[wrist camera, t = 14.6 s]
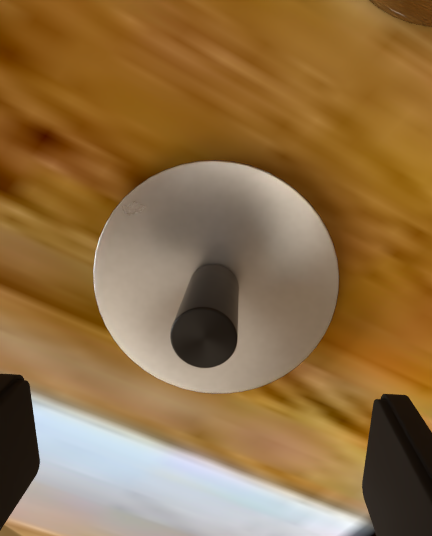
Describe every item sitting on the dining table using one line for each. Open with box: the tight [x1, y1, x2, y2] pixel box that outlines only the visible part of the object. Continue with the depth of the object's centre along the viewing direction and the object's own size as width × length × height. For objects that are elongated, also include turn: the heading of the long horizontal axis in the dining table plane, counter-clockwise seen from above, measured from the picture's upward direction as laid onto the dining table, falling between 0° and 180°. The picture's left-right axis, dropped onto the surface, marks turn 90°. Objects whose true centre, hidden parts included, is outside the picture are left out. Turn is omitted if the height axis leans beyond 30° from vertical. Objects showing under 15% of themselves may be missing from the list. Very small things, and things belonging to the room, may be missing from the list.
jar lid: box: [93, 160, 339, 394], centre depth 19 cm, size 13×13×7 cm
